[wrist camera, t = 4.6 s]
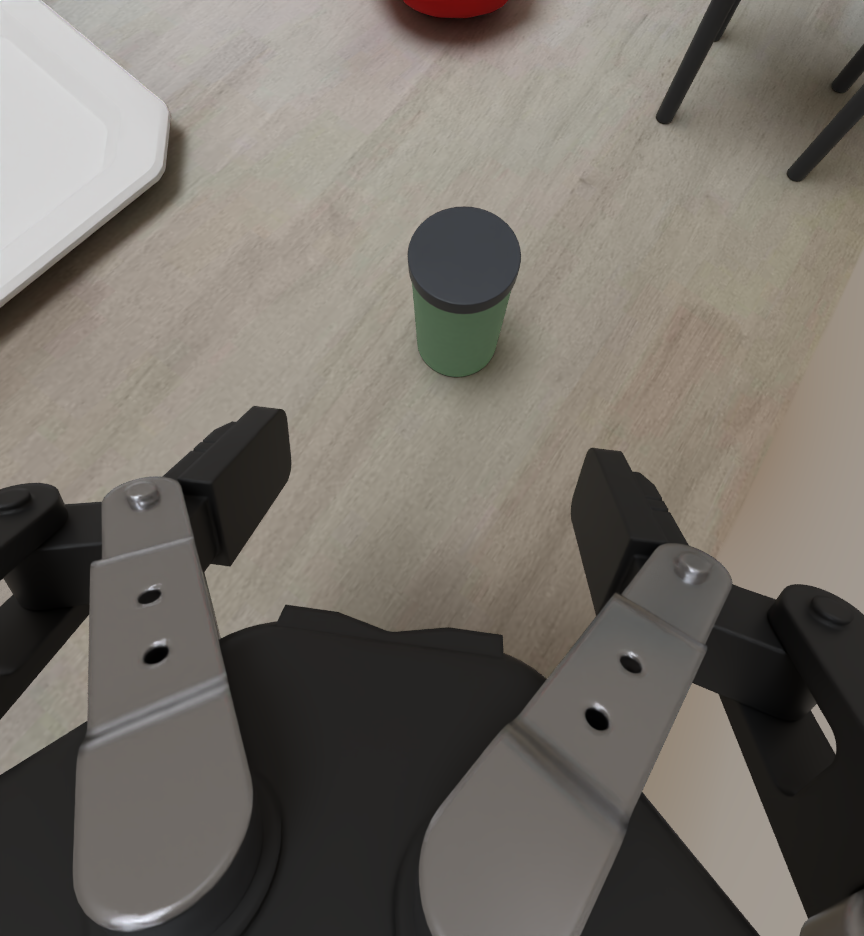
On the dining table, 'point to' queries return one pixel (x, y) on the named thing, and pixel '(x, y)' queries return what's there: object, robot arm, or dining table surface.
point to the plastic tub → (461, 286)
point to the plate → (66, 140)
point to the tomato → (455, 7)
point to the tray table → (856, 107)
